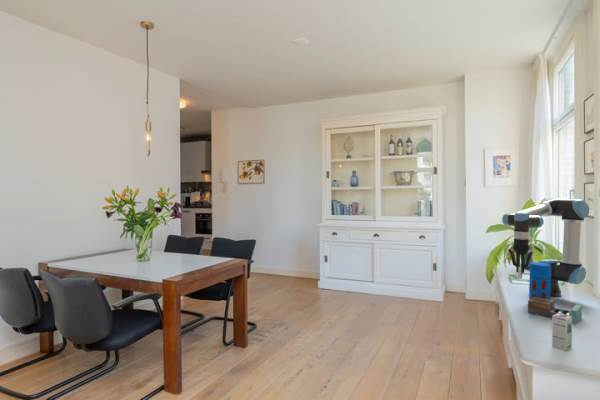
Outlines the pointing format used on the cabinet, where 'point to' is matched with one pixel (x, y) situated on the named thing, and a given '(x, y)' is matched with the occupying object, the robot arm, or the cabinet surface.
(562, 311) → the roller bed
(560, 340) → the syrup box
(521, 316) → the cabinet surface
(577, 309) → the stop block
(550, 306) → the slab
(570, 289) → the cabinet surface
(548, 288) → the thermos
